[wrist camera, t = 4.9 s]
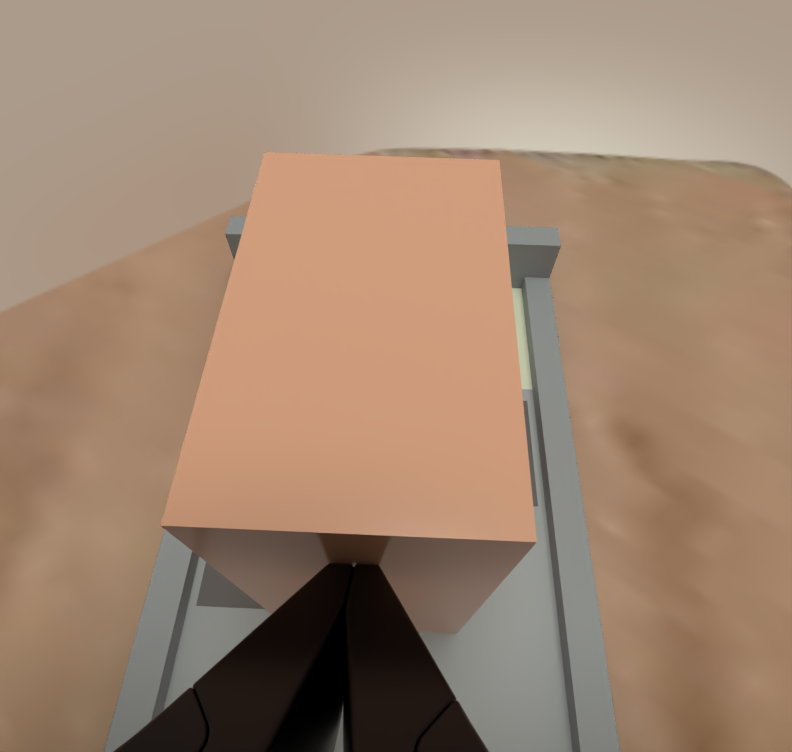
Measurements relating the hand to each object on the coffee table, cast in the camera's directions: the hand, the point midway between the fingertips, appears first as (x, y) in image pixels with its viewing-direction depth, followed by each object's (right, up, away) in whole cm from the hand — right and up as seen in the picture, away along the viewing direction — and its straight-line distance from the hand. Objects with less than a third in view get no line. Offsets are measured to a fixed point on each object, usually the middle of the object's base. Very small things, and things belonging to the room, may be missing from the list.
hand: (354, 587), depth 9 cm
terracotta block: (0, -1, +9) cm, 9 cm away
